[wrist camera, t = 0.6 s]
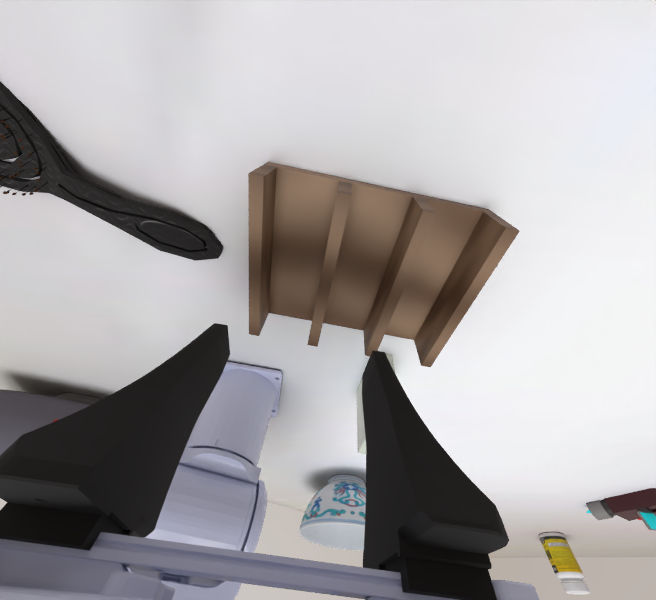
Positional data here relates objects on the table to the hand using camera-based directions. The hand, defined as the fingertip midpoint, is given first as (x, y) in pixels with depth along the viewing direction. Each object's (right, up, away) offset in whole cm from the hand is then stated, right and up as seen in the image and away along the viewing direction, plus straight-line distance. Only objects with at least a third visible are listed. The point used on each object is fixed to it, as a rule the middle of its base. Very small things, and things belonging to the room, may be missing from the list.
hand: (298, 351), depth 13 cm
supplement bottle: (+50, -48, +43) cm, 82 cm away
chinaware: (+5, -31, +34) cm, 46 cm away
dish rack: (+4, +5, +8) cm, 10 cm away
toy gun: (+53, -31, +31) cm, 69 cm away
